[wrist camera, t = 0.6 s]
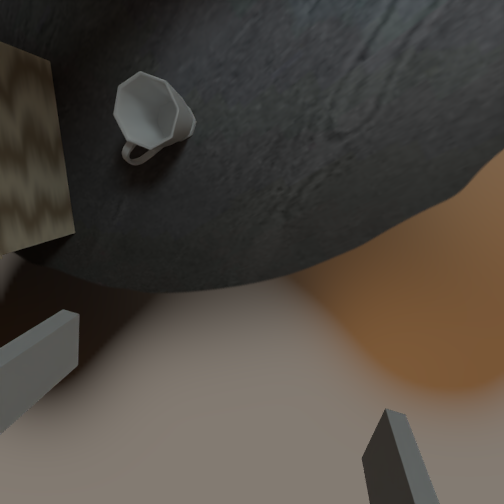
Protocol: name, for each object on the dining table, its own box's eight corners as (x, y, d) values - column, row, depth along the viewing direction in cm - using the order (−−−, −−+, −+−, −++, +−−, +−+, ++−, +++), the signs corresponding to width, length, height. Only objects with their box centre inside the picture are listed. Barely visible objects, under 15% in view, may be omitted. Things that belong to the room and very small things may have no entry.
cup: (218, 119, 35) (193, 107, 28) (170, 182, 39) (136, 186, 31) (174, 77, 35) (137, 53, 27) (129, 144, 38) (85, 139, 31)
